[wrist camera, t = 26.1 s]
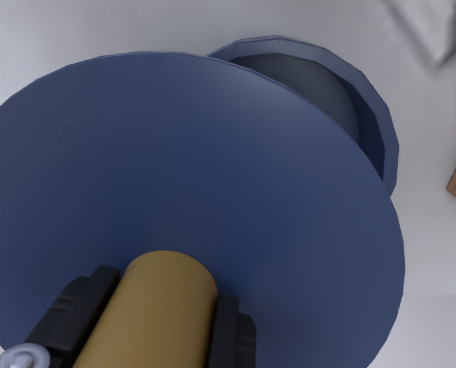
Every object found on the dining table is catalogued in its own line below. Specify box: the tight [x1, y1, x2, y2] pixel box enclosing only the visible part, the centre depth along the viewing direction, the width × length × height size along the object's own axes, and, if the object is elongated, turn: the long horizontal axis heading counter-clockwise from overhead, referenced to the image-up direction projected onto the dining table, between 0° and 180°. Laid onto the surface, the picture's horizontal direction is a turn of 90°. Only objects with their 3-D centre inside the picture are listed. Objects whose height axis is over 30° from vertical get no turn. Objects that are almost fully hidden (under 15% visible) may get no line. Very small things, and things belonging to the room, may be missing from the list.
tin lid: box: [0, 51, 405, 368], centre depth 11 cm, size 17×17×7 cm
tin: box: [206, 36, 399, 197], centre depth 25 cm, size 16×16×6 cm
